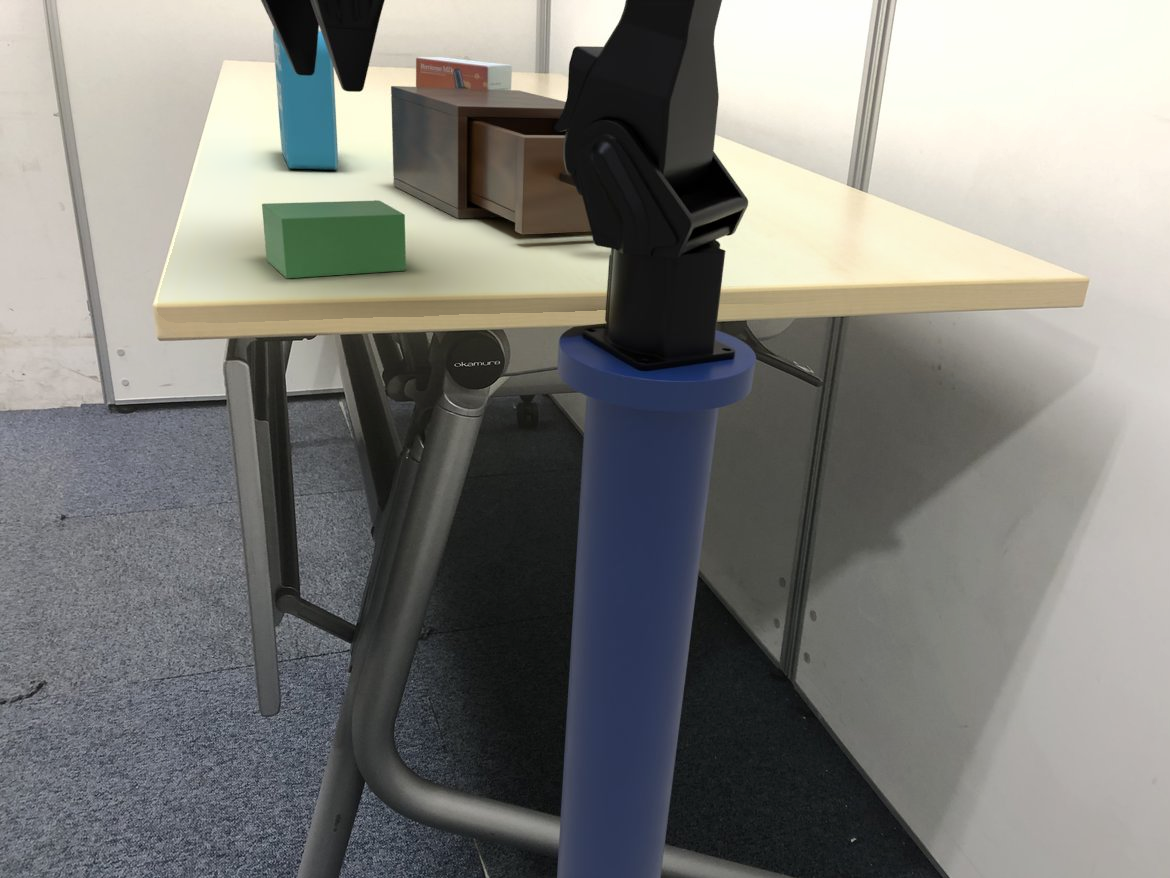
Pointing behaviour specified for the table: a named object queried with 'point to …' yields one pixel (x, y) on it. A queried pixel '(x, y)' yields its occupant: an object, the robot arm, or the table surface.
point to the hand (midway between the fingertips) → (327, 82)
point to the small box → (462, 74)
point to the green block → (334, 238)
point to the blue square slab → (307, 111)
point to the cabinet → (449, 138)
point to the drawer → (523, 174)
